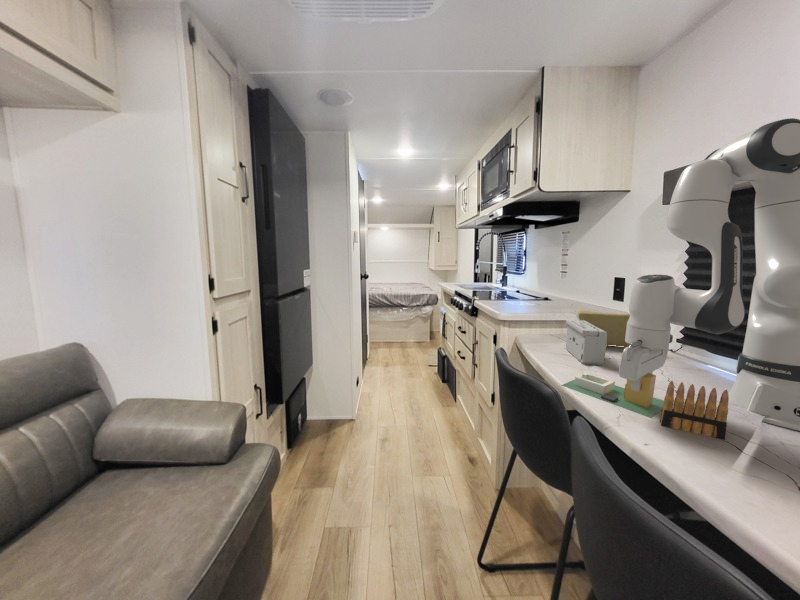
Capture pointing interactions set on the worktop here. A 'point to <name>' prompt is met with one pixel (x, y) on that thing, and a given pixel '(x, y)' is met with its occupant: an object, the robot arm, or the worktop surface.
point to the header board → (611, 393)
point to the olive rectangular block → (608, 325)
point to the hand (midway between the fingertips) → (639, 388)
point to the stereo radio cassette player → (586, 341)
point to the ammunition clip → (695, 411)
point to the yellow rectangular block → (641, 391)
